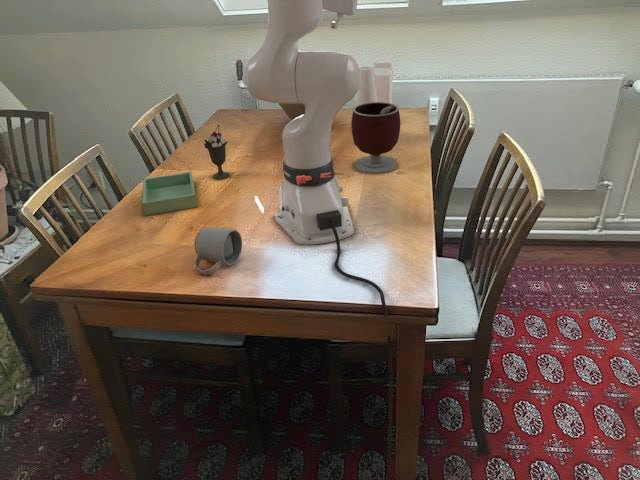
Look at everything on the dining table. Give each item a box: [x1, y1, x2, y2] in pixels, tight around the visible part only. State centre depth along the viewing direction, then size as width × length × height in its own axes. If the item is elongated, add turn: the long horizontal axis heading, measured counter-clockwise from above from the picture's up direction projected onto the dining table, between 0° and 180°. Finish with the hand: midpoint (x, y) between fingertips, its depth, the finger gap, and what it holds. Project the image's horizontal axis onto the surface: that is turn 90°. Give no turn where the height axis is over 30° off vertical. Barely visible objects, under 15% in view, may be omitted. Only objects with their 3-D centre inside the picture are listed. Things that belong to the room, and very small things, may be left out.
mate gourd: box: [351, 102, 401, 175], centre depth 151 cm, size 16×14×20 cm
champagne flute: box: [355, 65, 377, 106], centre depth 167 cm, size 7×7×24 cm
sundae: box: [203, 124, 230, 180], centre depth 152 cm, size 7×7×15 cm
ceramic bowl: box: [277, 103, 305, 121], centre depth 195 cm, size 22×23×10 cm
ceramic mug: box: [194, 226, 243, 276], centre depth 113 cm, size 11×8×8 cm
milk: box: [373, 62, 393, 104], centre depth 180 cm, size 6×6×22 cm
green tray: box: [141, 171, 198, 216], centre depth 144 cm, size 16×13×4 cm
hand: (319, 25), depth 159 cm, fingers open, 8 cm apart
